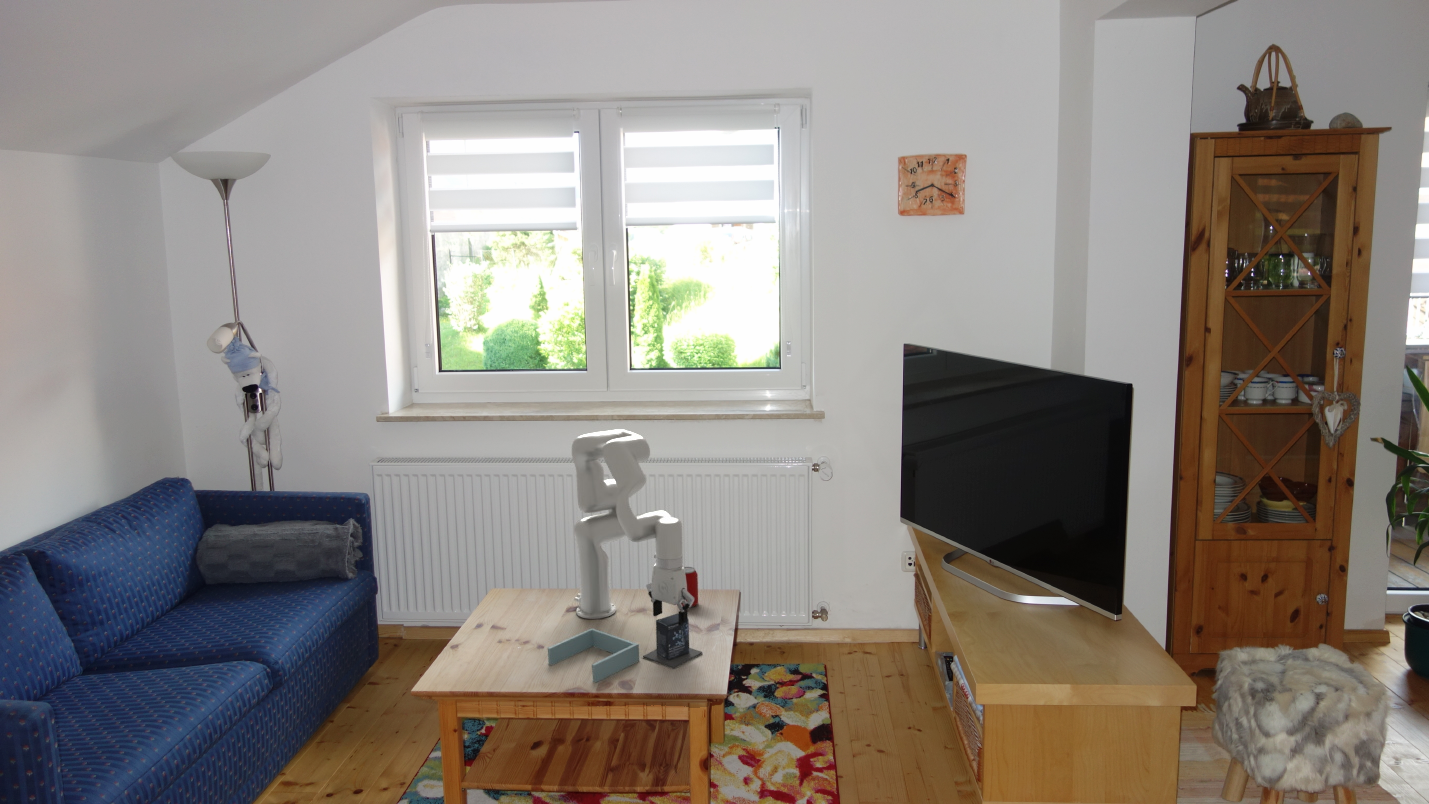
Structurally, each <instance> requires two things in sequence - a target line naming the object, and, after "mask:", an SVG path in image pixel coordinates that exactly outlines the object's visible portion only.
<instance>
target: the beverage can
mask: <svg viewBox="0 0 1429 804" xmlns="http://www.w3.org/2000/svg"><path fill="white" fill-rule="evenodd" d="M683 567H684V570H685V575H686V583H687V591H688V592H689V593H690V594H691V595H692V596H693V597H694V602H693V604H692V606H691V607H690V608H693V607H695V606H696V605H698V604H699V585H698V584H699V581H698V580H699V579H698V578H699V577H698V575H699V574H698V572H697V571H696V568H695V567H691V566H683ZM686 601H687V599H686ZM681 604H682V606H684V605H683V603H681Z"/></svg>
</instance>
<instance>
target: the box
mask: <svg viewBox="0 0 1429 804" xmlns="http://www.w3.org/2000/svg"><path fill="white" fill-rule="evenodd" d="M689 621H690V620H689V618H688V622H687V623H685V624H683V625H679V616H678V613H675V614H671V615H669V616H665V617H662V618H659V619H655V631H656V632H655V633H656V634H655V635H656V636H655V637H656V649H657V655H659V656H660V657H662V658H664V659H665V660H667V661H668V660H670V659H673V658H676V657H679V656H682V655H685V654H688V653H689V648H690V628H689V627H690V622H689Z"/></svg>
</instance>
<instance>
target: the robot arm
mask: <svg viewBox="0 0 1429 804" xmlns="http://www.w3.org/2000/svg"><path fill="white" fill-rule="evenodd" d="M571 456H572V460H573V463H574V467H575V471H576V472H575V473H576V494H577V495H576V496H577V505H578V508H579V510H580V511H581V513H584V514H594V513H598V512H603V513H601V514H600V513H599V514H594V515H590V516H589V515H588V516H585V517H583V518H581V519H580V520H578V521H577V522H576V523H575V525H574V527H573V534H574V538H575V539H574V540H575V544H576V549H577V555H578V556H577V558H578V571H579V575H578V576H579V589H580V591H579V592H580V593H579V592H578V593H577V595H576V596H575V597H574V601H575V602H577V603H578V606H577V608H576V610H575V611H576V615H577V616H578V617H580V618H583V619H589V620H598V619H605V618H608V617H609V616H610V617H611V616H612V615H614V614H615V613H616V611H617V606H616V605H615V604H614V603H612V602H611V601H612V600H611V586H610V585H611V583H610V581H611V579H610V561H609V559H610V558H609V556H608V554H607V552H606V551H605V550H604V549H603V548H602V546H603V545H606V544H610V543H614V542H618V541H621V540H623V539H625V538H626V537H627V538H628V540H630V541H632V542H634V543H641V542H645V541H648V540H653V539H655V542H654V543H655V553H654V555H653V558H654V559H655V564H654V565H653V567H652V568H653V569H652V574H651V582H649V583H648V584H646V585H645V587H646V590H647V592H648V593H647V594H648V596H649V598H650V602H651V603H652V616H653V617H657V616H659V615H662V614H663V603H666V604H668V605H673V606H677V608H678V609H679V611H677V612H678V616H679V625H683V624H685V623H687V622H688V619H689V618H688V617H689V614H688V612H689V611H688V610H690V608H692V607H691V606H692V604H693V602H694V597H693V596H692V595H691V594H690V593H689V592H688V591H687V583H686V575H685V570H684V567H685V566H683V563H684V562H683V560H684V558H683V555H684V554H683V523H682V520H680V519H679V518H677V517H673V516H672V515H671V514H670V513H669V512H668V511H666V510H663V509H660V510H653V511H648V512H644V513H641V514H634V512H633V511H632V508H631V506H630V502H629V499H630V498H631V497H632V496H634V495H635V494H637V493H638V492H639V491H640V490H641V489H642V488H643V487H644V486H645V485H646V482H647V477H646V475H645V473H644V471H643V470H642V469H643V468H642V467H641V465H640V463H645V462H646V461H648V460H649V458H650V456H651V448H650V445H649V443H648V441H647V440H646V439H645V438H644V437H643V436H642V435H640V434H637V433H636V432H632V431H629V430H626V429H621V428H618V429H612V430H610V429H609V430H603V431H596V432H589V433H585V434H582V435H580V436H579V435H578V436H577V437H576V438H575V439H573V441H572V444H571ZM600 460H604V462H605V464H606V466H607V468H608V470H609V472H610V474H611V475H612V477H613V478H608V479H605V474H604V473H605V471H604V467H603V465H602V463H601V462H600ZM604 511H608V512H605V513H604ZM686 599H687V601H686ZM681 603H683V605H684V606H682V604H681Z"/></svg>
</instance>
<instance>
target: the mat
mask: <svg viewBox="0 0 1429 804" xmlns="http://www.w3.org/2000/svg"><path fill="white" fill-rule="evenodd" d="M701 655H703V651H701V650H697V649H695V648H692V647H689V653H688V654H685V655H682V656H679V657H676V658H673V659H670V660H668V661H667V660H665V659H664V658H662V657H660V656H659V655H657V648H656V649H654V650H651V651H650V652H647V653H645V654H644V655H643V656H642V659H645V660H648V661H651V662H653V663H657V664H659V665H662V666H666V667H667V668H668V667H669V668H670V669H677V668H679V667H681V666H682V665H685V664H687V663H689V662H690V661H692V660H693V659H696V658H697V657H699V656H701Z"/></svg>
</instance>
